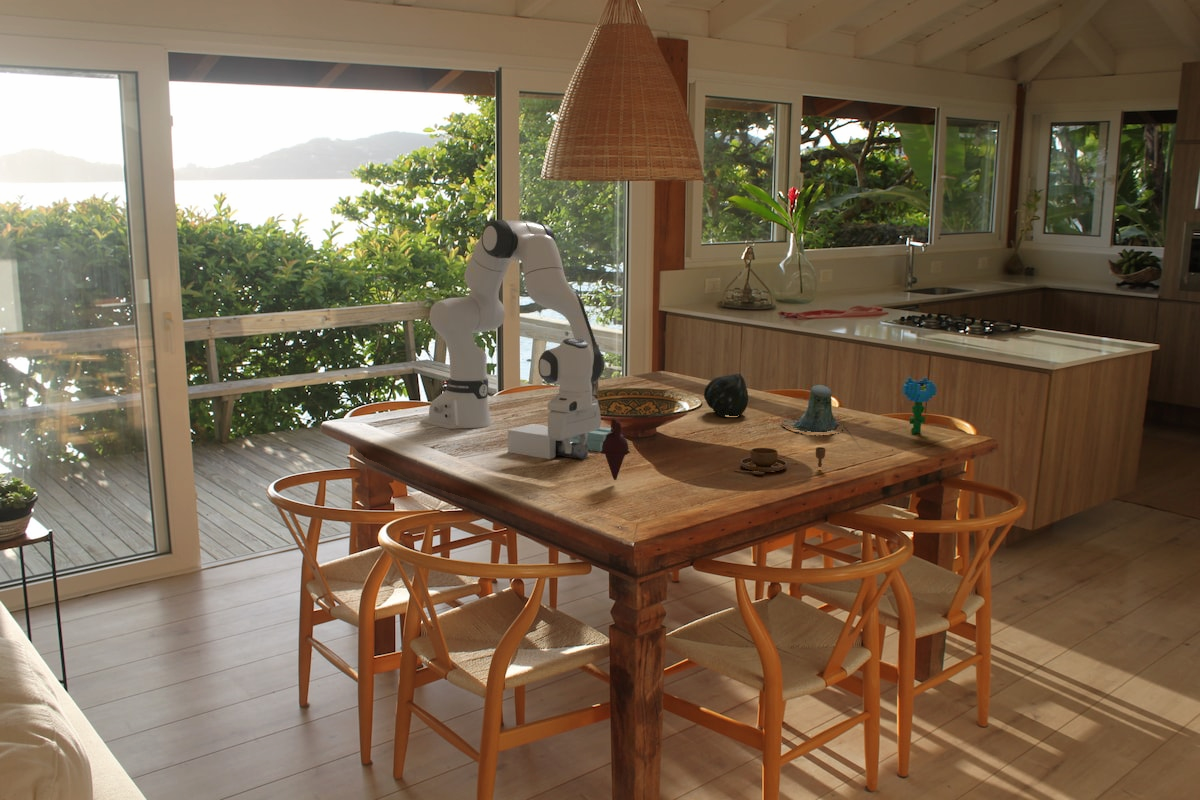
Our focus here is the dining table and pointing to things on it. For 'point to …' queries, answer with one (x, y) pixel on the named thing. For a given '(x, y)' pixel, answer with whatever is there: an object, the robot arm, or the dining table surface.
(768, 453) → the place setting
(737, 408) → the squash
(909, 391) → the toy flower
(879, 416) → the dining table surface
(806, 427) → the green grey mushroom
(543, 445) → the white notched block
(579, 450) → the axle
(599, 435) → the v block
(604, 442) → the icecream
